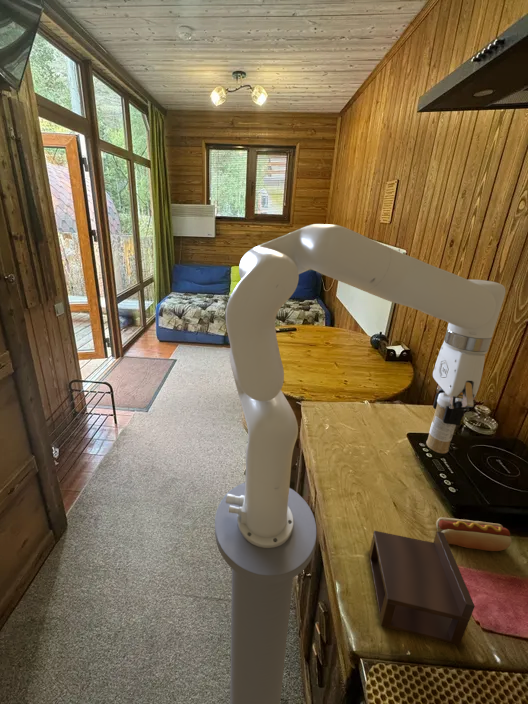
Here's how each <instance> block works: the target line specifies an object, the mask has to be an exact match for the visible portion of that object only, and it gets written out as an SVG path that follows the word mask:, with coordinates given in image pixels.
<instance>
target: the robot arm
mask: <svg viewBox="0 0 528 704" xmlns="http://www.w3.org/2000/svg"><path fill="white" fill-rule="evenodd" d="M309 270H312V271H315V272H316V273H319V274H321V275H322V276H326V277H329V278H331V279H333V280H335V281H338V282H341V283H344V284H345V285H348V286H350V287H353V288H355V289H358V290H360V291H362V292H366V293H368V294H370V295H372V296H375V297H378V298H380V299H383V300H385V301H388V302H390V303H394V304H397V305H401V306H405V307H408V308H411V309H414V310H417V311H419V312H421V313H424V314H426V315H428V316H431V317H433V318H435V319H438V320H440V321H444V322H446V323H448V324H447V328H446V331H445V335H444V339H443V343H442V345H441V347H440V350H439V352H438V355H437V358H436V361H435V365H434V368H433V371H432V378H433V379H434V381H435V382H436V384H437V386H436V392H435V397H434V401H433V405H432V407H433V409H434V410H436V407H437V399H438V395H439V394H440V393H446V394H447V395H448V396H450V402H449V406H446V410H445V413H444V417H443V422H444V423H446V424H453V425H456V426H459V425H461V422H462V419H463V416H464V412H465V411H467V409H470V408H474V406H475V405H474V399H475V397H477V393H478V392H479V388H480V385H481V381H482V377H483V373H484V366H485V360H486V354H487V353H488V351H489V349H490V346H491V345H490V344H491V342H492V338H493V336H494V332H495V329H496V325H497V323H498V320H499V316H500V313H501V310H502V306H503V304H504V299H505V297H506V288H505V286H504V285H503V284H501V283H500V282H497V281H491V280H485V279H467V278H465V277H463V276H460V275H457V274H455V273H453V272H450V271H448V270H445V269H442V268H439V267H437V266H435V265H432V264H430V263H427V262H425V261H423V260H420V259H418V258H416V257H413V256H410V255H408V254H405V253H402V252H400V251H398V250H396V249H393V248H392V247H390V246H387V245H384V244H382V243H380V242H378V241H376V240H373V239H372V238H369V237H367V236H366V235H363V234H361V233H359V232H356V231H355V230H353V229H350V228H348V227H345V226H342V225H339V224H332V223H330V224H328V223H325V224H324V223H313V224H309V225H305V226H303V227H301V228H298V229H296V230H294V231H291V232H289V233H287V234H284V235H281V236H279V237H277V238H274V239H272V240H269V241H266V242H263V243H261V244H258V245H257V246H254V247H252V248H250V249H249V250H248V251H247V252H245V253H244V255H243V256H242V258H241V259H240V262H239V266H238V273H239V278H240V280H239V281H238V283H237V284H236V286H234V289H233V290H232V292H231V294H230V296H229V298H228V301H227V303H226V307H225V315H224V316H225V326H226V331H227V335H228V341H229V345H230V350H229V354H228V355H229V358H228V359H229V363H230V367H231V371H232V375H233V379H234V383H235V387H236V391H237V394H238V398H239V402H240V406H241V408H242V411H243V415H244V420H245V424H246V427H247V437H248V439H247V444H246V452H245V477H244V478H245V479H244V483H245V496H244V495H241V497H239V496H235V495H232V494H227V493H226V494H227V498H226V503H229V504H236V505H239V507H240V508H239V507H235V506H231V505H230V506H229V512H230V513H236V514H238V517H237V521H238V527H239V530H240V532H241V533H242V535H243V536H244V538H245V539H246V540H248V541H249V542H250V543H252V544H253V545H256V546H258V547H262V548H273V547H277V546H280V545H282V544H283V543H285V542H286V541H287V540H288V539H289V537H290V535H291V533H292V530H293V515H292V512H291V510H290V508H289V507H288V498H289V488H290V485H291V474H292V473H291V472H292V461H293V454H294V448H295V445H296V442H297V439H298V436H299V426H298V421H297V417H296V414H295V411H294V410H293V408H292V407H291V404H290V403H289V401H288V400H287V398H286V396H285V395H284V393H283V391H282V389H283V386H284V382H285V370H284V365H283V361H282V358H281V353H280V348H279V344H278V343H279V342H278V339H277V337H278V336H277V330H276V317H277V316H278V313H279V312H280V309H281V308H282V307H283V306H284V304H285V303H286V302H287V301H288V300H290V299H291V297H292V296H293V295H294V294H295V292H296V289H297V287H298V284H299V279H300V276H299V275H300V274H303V273H305V272H307V271H309ZM461 393H462V394H461ZM456 398H461V401H457V402H455V399H456Z"/></svg>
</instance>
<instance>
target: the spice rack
mask: <svg viewBox="0 0 528 704" xmlns="http://www.w3.org/2000/svg"><path fill="white" fill-rule="evenodd" d="M369 548H370V549H369V553H368V556H369V557H368V558H369V565H370V570H371V576H372V582H373V587H374V591H375V592H374V593H375V599H376V604H377V609H378V615H379V621H380V626H381V627H384V628H388V629H392V630H395V631H399V632H403V633H407V634H410V635H415V636H419V637H422V638H426V639H430V640H434V641H438V642H441V643H445V644H448V645H453V646H457V647H460V646H461V643H462V641H463V637H464V636H465V632H466V629H467V628H468V625H469V622H470V619H471V617H472V615H473V613H474V610H475V607H476V606H475V603H474V600H473V598H472V596H471V594H470V592H469V589H468V587H467V585H466V582H465V580H464V578H463V575H462V573H461V571H460V568H459V566H458V563H457V561H456V559H455V556H454V555H453V551H452V550H451V547H450V544H448V542H447V540H446V538H445V535H444V533H443V532H438V531H437V530H436V532H435V536H434V538H433V542H432V541H427V540H423V539H417V538H413V537H407V536H403V535H399V534H392V533H388V532H384V531H380V530H379V531H377V530H373V534H372V538H371V543H370V547H369Z"/></svg>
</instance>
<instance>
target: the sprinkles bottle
mask: <svg viewBox="0 0 528 704" xmlns="http://www.w3.org/2000/svg"><path fill="white" fill-rule="evenodd" d="M457 401H461V398H456V399H455V402H457ZM449 402H450V396H448V395H447V394H446V393H440V394H439V395H438V399H437V407H436V409H434V410H435V411H434V414H433V418H432V421H431V423H430V428H429V432H428V437H427V440H426V442H425V444H426V446H427V447H428V449H430V450H432V451H433V452H435V453H438V454H447V453H449V450H450V444H451V441H452V439H453V436H454V433H455V430H456V426H457V425H453V424H446V423H444V422H443V417H444V413H445V410H446V406H449Z"/></svg>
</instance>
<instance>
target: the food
mask: <svg viewBox="0 0 528 704" xmlns="http://www.w3.org/2000/svg"><path fill="white" fill-rule="evenodd" d="M435 526H436V532H437V531H438V532H443V533H444V535H445V538H446V540H447V542H448V545H454V546H457V547H458V546H459V547H462V548H467V549H474V550H482V551H489V552H499V551H500V552H501V551H503V550H508V548H510V546H511V545H512V542H513V540H512V537H511V532H510V530H509V529H508V528H506V527H504V526H503V524H500V523H493V522H486V521H481V520H480V521H479V520H470V519H462V518H461V519H459V518H452V517H444V516H443V517H441V516H440V517H438V519H436V523H435Z"/></svg>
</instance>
